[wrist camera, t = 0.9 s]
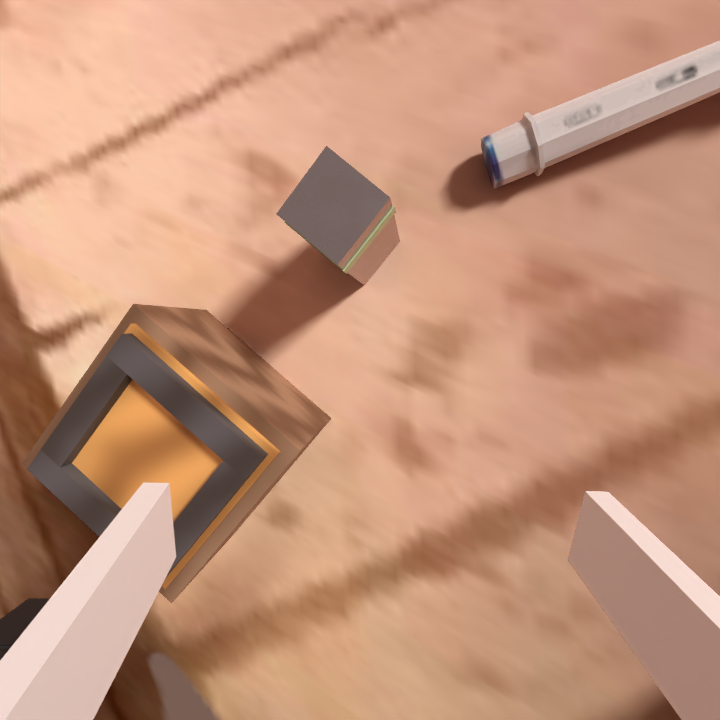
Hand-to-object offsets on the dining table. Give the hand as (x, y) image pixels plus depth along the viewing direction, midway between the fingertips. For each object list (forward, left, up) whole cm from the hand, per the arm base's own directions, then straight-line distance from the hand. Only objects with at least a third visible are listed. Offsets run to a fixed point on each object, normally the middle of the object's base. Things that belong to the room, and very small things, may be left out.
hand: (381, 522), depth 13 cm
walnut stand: (+12, +14, -24) cm, 30 cm away
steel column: (+12, -8, -24) cm, 28 cm away
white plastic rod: (+1, -30, -25) cm, 38 cm away
